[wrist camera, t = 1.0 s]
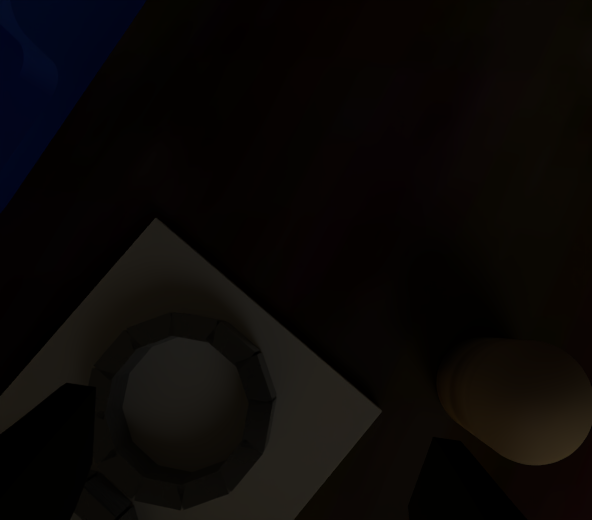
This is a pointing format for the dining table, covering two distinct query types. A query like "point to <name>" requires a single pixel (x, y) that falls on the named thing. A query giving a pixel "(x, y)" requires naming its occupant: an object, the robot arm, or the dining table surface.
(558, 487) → the dining table surface
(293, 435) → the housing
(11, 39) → the bracket
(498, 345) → the tan rounded capsule
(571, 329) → the dining table surface
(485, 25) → the dining table surface
